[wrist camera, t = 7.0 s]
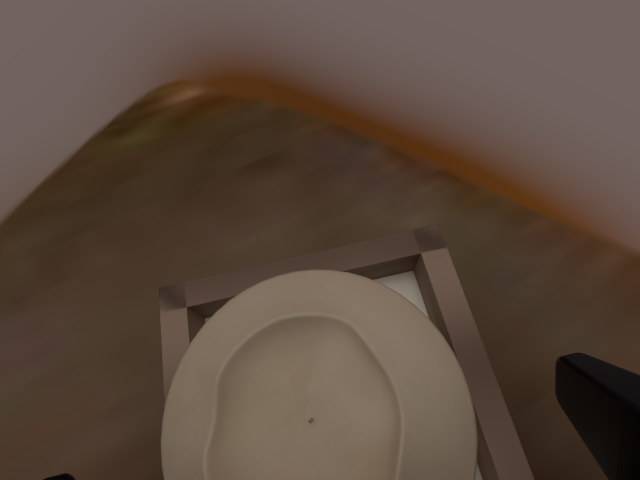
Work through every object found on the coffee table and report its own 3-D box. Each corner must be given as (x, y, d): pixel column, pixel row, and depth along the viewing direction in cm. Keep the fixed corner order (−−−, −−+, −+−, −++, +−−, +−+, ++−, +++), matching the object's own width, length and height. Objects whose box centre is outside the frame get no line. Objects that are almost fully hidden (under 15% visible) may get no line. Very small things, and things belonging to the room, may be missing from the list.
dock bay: (523, 539, 14) (570, 573, 11) (215, 614, 14) (177, 670, 11) (423, 254, 18) (437, 224, 15) (190, 307, 18) (158, 287, 15)
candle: (439, 442, 14) (607, 505, 5) (307, 535, 13) (210, 820, 4) (355, 312, 16) (363, 185, 7) (236, 386, 15) (66, 353, 6)
